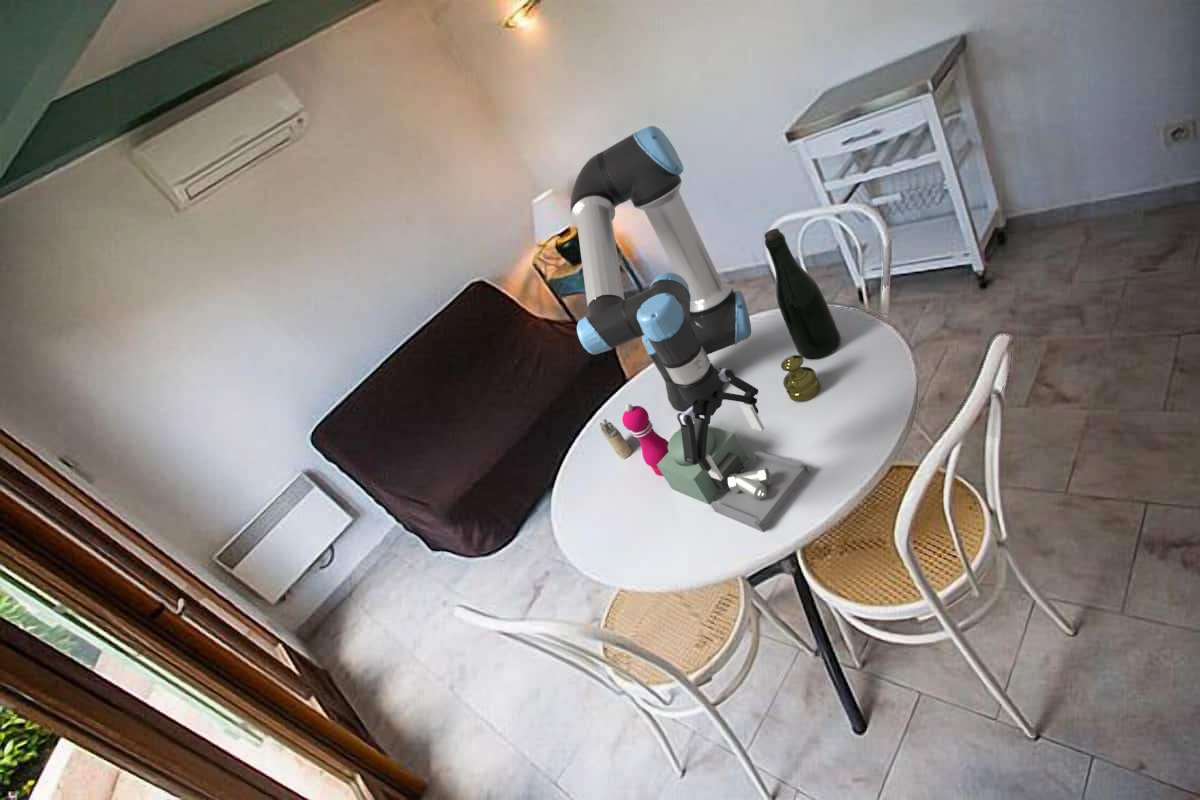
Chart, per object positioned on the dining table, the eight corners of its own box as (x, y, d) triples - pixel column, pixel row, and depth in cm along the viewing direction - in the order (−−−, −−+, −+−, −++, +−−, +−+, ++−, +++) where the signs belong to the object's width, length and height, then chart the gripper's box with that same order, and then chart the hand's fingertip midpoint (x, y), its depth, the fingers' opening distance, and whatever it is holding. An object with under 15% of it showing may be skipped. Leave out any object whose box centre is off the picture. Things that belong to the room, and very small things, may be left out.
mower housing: (672, 489, 145) (650, 455, 140) (710, 446, 150) (690, 412, 145) (717, 508, 134) (695, 472, 128) (757, 461, 138) (737, 424, 133)
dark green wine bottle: (849, 333, 156) (802, 214, 140) (831, 361, 151) (781, 242, 135) (810, 334, 164) (762, 222, 148) (791, 361, 159) (740, 248, 143)
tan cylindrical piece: (613, 449, 170) (594, 422, 165) (624, 440, 170) (606, 413, 165) (623, 460, 163) (604, 433, 158) (635, 451, 164) (616, 423, 159)
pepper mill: (682, 452, 154) (644, 390, 144) (677, 474, 148) (637, 412, 139) (656, 458, 157) (616, 398, 148) (650, 480, 152) (609, 419, 142)
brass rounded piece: (828, 384, 146) (813, 350, 141) (808, 405, 143) (792, 372, 139) (802, 378, 152) (787, 346, 147) (783, 399, 150) (767, 367, 145)
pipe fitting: (772, 501, 127) (771, 475, 132) (765, 489, 125) (764, 463, 129) (734, 509, 130) (734, 483, 135) (726, 497, 128) (727, 471, 133)
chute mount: (714, 511, 133) (710, 504, 132) (760, 457, 138) (756, 450, 137) (762, 532, 123) (758, 524, 122) (810, 472, 128) (806, 465, 127)
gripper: (662, 424, 108) (713, 504, 119) (749, 329, 116) (789, 412, 127) (634, 416, 114) (685, 493, 125) (719, 326, 123) (760, 405, 133)
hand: (738, 452), depth 126 cm, fingers open, 13 cm apart
